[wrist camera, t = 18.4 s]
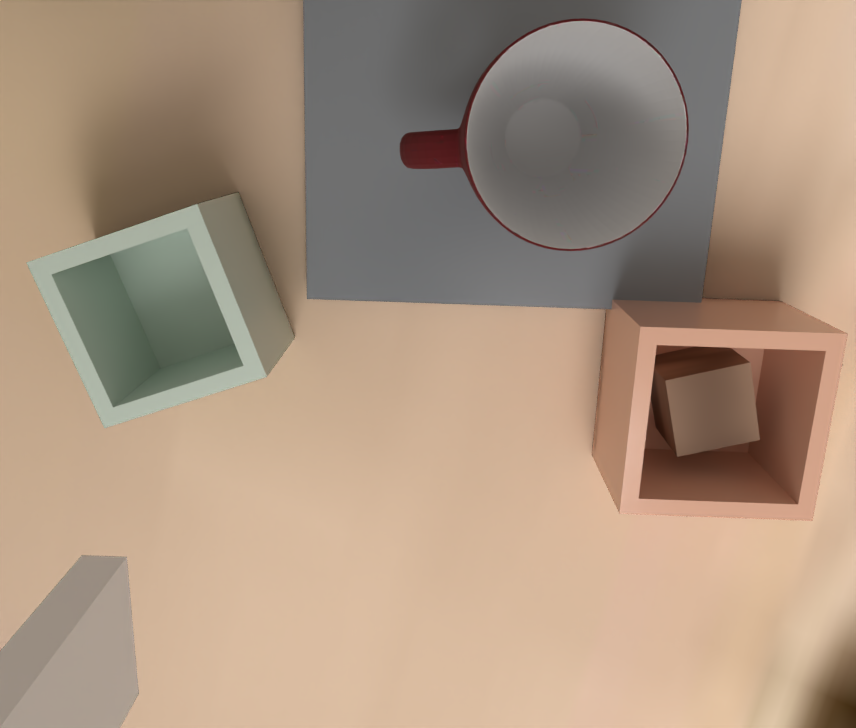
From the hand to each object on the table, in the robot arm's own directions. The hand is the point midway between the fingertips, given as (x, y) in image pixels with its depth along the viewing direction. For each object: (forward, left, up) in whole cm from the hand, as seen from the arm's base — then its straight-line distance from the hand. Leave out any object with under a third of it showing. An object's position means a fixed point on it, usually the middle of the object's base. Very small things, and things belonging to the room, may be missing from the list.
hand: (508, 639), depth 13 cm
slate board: (+2, +8, -29) cm, 30 cm away
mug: (+2, +8, -28) cm, 29 cm away
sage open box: (-14, 0, -29) cm, 32 cm away
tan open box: (+12, -4, -29) cm, 31 cm away
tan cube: (+12, -4, -28) cm, 31 cm away
